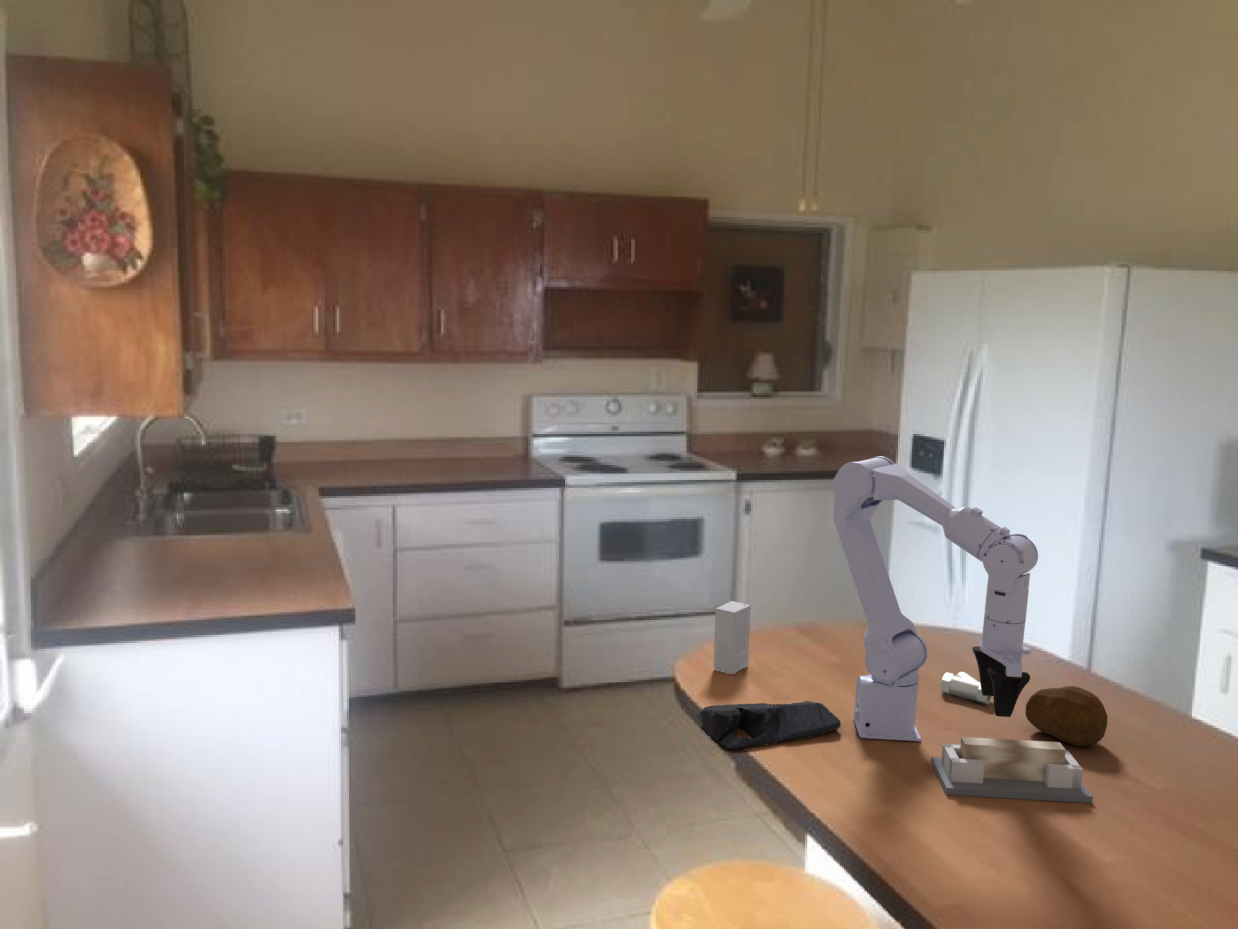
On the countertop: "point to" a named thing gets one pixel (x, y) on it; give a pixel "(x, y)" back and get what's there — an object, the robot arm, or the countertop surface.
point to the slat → (1013, 757)
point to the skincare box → (731, 637)
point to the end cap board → (970, 782)
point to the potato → (1068, 714)
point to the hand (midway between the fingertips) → (995, 705)
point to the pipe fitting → (963, 687)
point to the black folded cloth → (766, 722)
